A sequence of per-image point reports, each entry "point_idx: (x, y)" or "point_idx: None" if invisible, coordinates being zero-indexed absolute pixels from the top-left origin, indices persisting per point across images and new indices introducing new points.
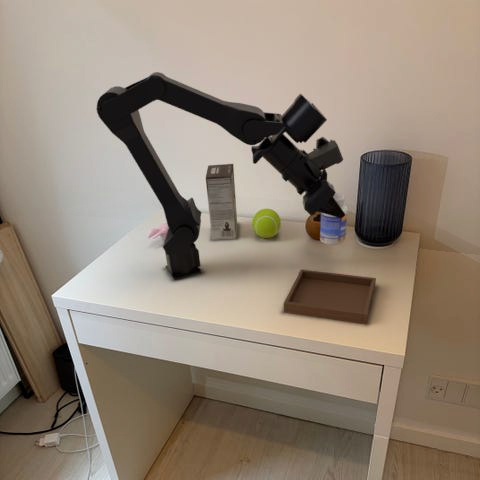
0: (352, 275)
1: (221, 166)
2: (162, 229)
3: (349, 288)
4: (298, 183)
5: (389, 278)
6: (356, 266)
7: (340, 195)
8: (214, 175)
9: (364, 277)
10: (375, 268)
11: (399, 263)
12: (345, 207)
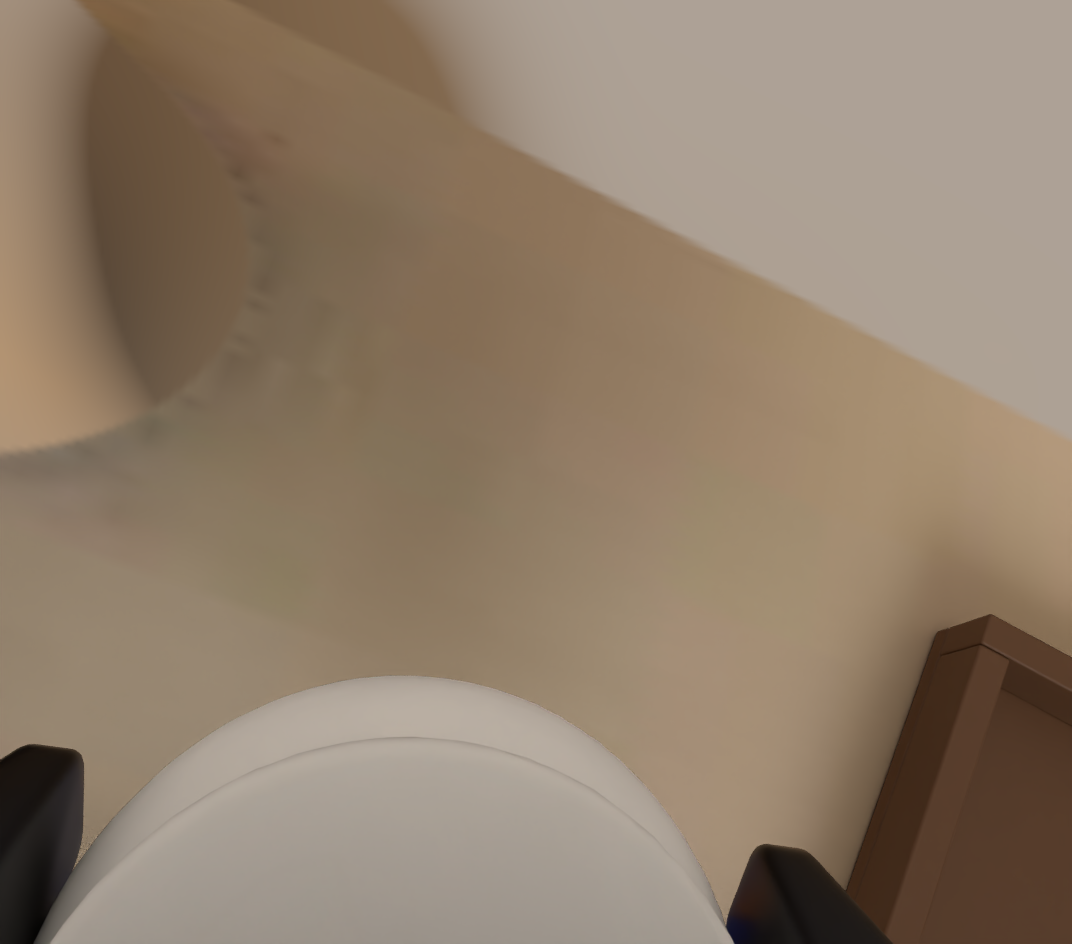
0: (925, 831)
1: None
2: None
3: (995, 895)
4: None
5: (809, 455)
6: (534, 658)
7: (332, 871)
8: None
9: (973, 719)
10: (614, 497)
11: (571, 268)
12: (518, 741)
